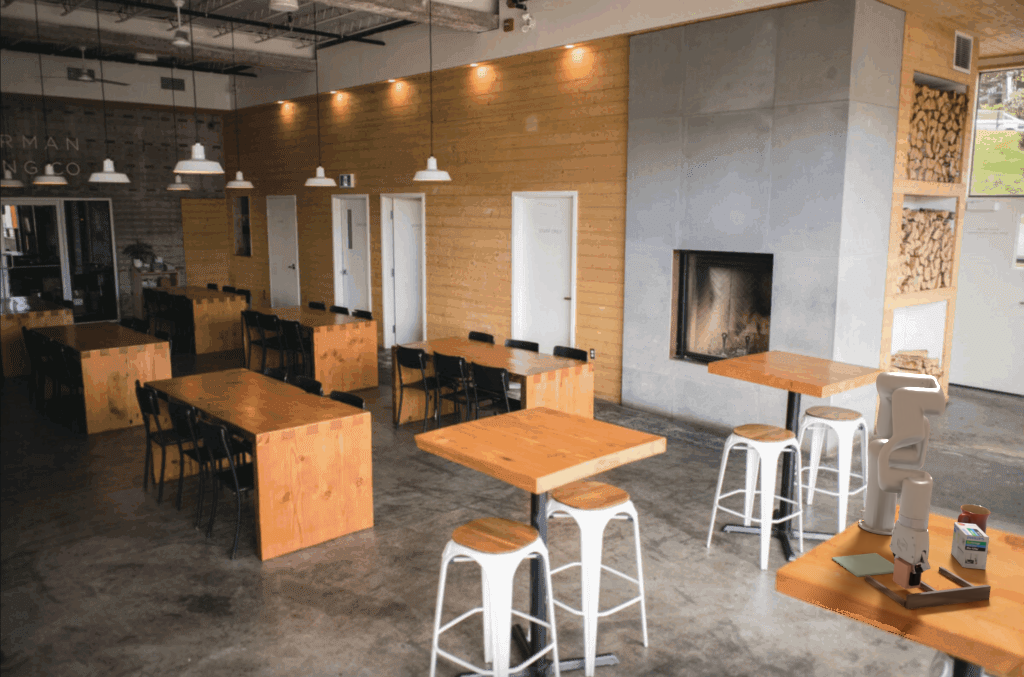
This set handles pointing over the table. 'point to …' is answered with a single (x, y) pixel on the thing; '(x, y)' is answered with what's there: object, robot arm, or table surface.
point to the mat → (865, 564)
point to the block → (903, 573)
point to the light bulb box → (970, 545)
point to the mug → (974, 516)
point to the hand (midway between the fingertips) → (906, 579)
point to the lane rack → (937, 593)
